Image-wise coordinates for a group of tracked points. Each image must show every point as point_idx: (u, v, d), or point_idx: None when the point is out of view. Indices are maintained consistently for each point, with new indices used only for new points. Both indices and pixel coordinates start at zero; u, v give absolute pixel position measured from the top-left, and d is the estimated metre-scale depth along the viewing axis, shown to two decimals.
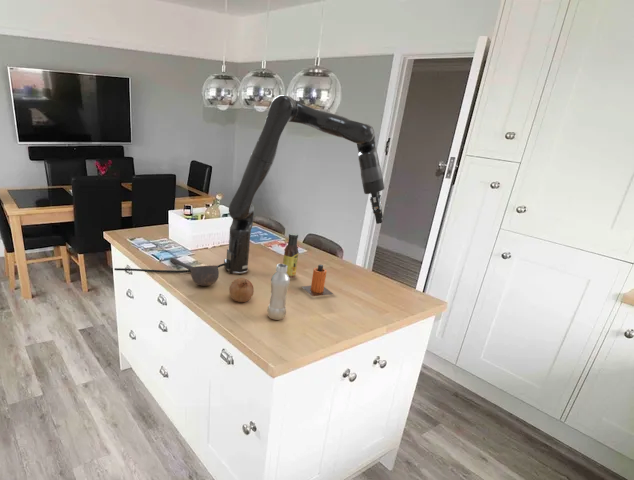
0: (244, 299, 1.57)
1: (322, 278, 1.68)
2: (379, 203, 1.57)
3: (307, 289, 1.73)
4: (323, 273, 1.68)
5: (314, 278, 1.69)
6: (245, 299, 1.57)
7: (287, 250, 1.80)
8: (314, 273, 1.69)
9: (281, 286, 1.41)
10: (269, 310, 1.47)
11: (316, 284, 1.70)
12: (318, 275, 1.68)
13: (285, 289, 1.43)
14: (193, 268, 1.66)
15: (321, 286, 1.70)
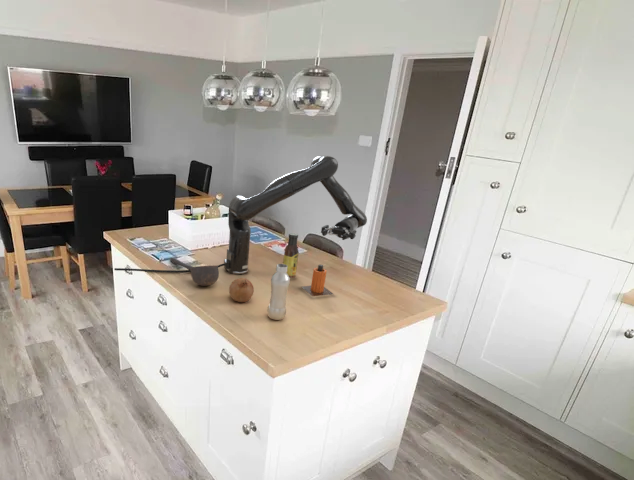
0: (244, 299, 1.57)
1: (322, 278, 1.68)
2: None
3: (307, 289, 1.73)
4: (323, 273, 1.68)
5: (314, 278, 1.69)
6: (245, 299, 1.57)
7: (287, 250, 1.80)
8: (314, 273, 1.69)
9: (281, 286, 1.41)
10: (269, 310, 1.47)
11: (316, 284, 1.70)
12: (318, 275, 1.68)
13: (285, 289, 1.43)
14: (193, 268, 1.66)
15: (321, 286, 1.70)
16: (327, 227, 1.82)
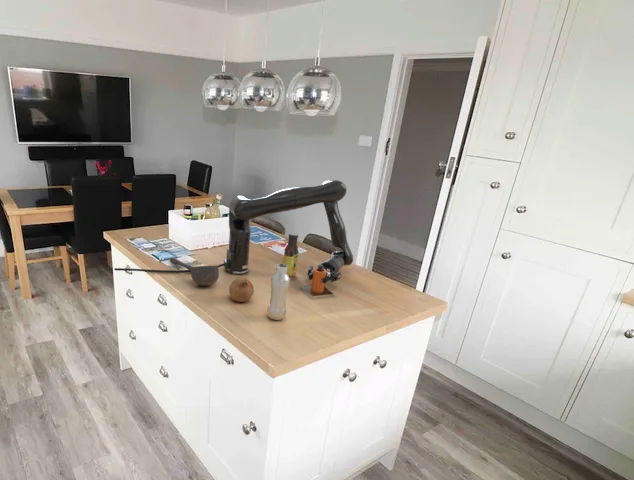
0: (244, 299, 1.57)
1: (322, 278, 1.68)
2: None
3: (307, 289, 1.73)
4: (323, 273, 1.68)
5: (314, 278, 1.69)
6: (245, 299, 1.57)
7: (287, 250, 1.80)
8: (314, 273, 1.69)
9: (281, 286, 1.41)
10: (269, 310, 1.47)
11: (316, 284, 1.70)
12: (318, 275, 1.68)
13: (285, 289, 1.43)
14: (193, 268, 1.66)
15: (321, 286, 1.70)
16: (312, 268, 1.78)
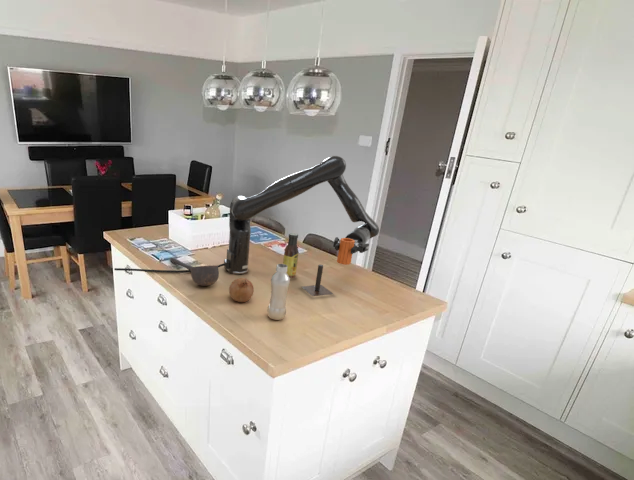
0: (244, 299, 1.57)
1: (350, 248, 1.57)
2: None
3: (307, 289, 1.73)
4: (351, 243, 1.56)
5: (341, 249, 1.57)
6: (245, 299, 1.57)
7: (287, 250, 1.80)
8: (341, 243, 1.57)
9: (281, 286, 1.41)
10: (269, 310, 1.47)
11: (343, 255, 1.58)
12: (346, 245, 1.56)
13: (285, 289, 1.43)
14: (193, 268, 1.66)
15: (349, 257, 1.58)
16: (337, 240, 1.66)
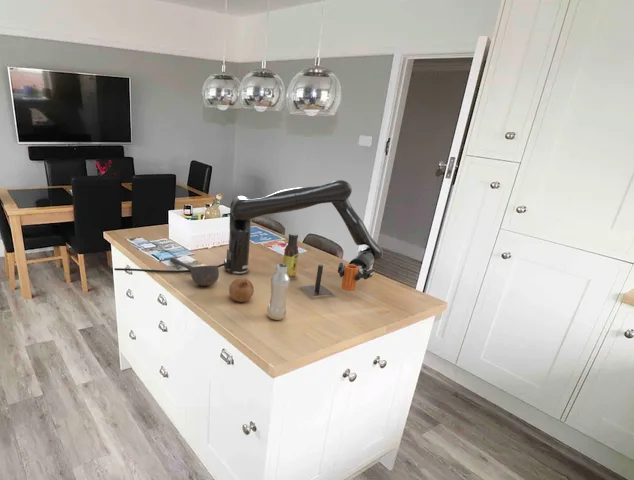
0: (244, 299, 1.57)
1: (354, 275, 1.58)
2: None
3: (307, 289, 1.73)
4: (356, 270, 1.57)
5: (346, 275, 1.59)
6: (245, 299, 1.57)
7: (287, 250, 1.80)
8: (346, 270, 1.59)
9: (281, 286, 1.41)
10: (269, 310, 1.47)
11: (348, 282, 1.60)
12: (350, 272, 1.58)
13: (285, 289, 1.43)
14: (193, 268, 1.66)
15: (353, 284, 1.60)
16: (342, 265, 1.68)
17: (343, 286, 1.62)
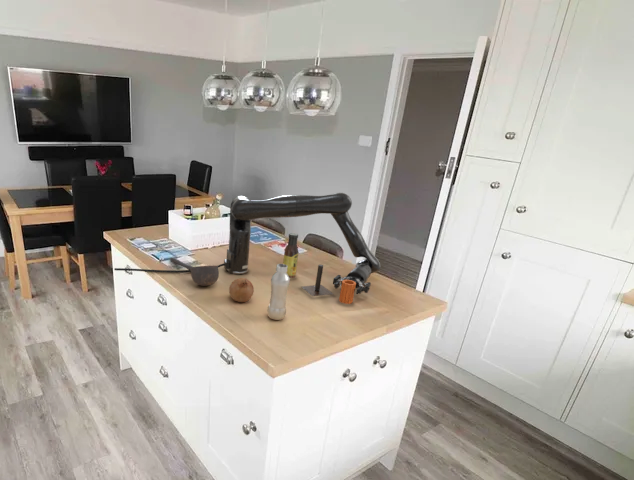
0: (244, 299, 1.57)
1: (351, 291, 1.61)
2: None
3: (307, 289, 1.73)
4: (353, 286, 1.60)
5: (343, 291, 1.62)
6: (245, 299, 1.57)
7: (287, 250, 1.80)
8: (343, 285, 1.61)
9: (281, 286, 1.41)
10: (269, 310, 1.47)
11: (345, 297, 1.62)
12: (347, 288, 1.60)
13: (285, 289, 1.43)
14: (193, 268, 1.66)
15: (350, 299, 1.63)
16: (339, 277, 1.71)
17: (340, 301, 1.64)
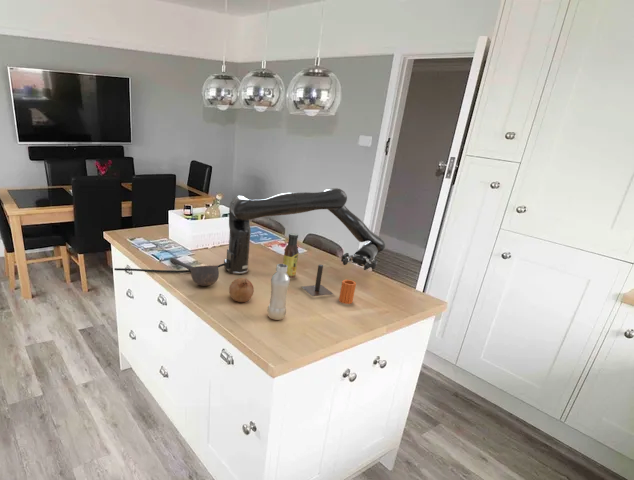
0: (244, 299, 1.57)
1: (351, 291, 1.61)
2: None
3: (307, 289, 1.73)
4: (353, 286, 1.60)
5: (343, 291, 1.62)
6: (245, 299, 1.57)
7: (287, 250, 1.80)
8: (343, 285, 1.61)
9: (281, 286, 1.41)
10: (269, 310, 1.47)
11: (345, 297, 1.62)
12: (347, 288, 1.60)
13: (285, 289, 1.43)
14: (193, 268, 1.66)
15: (350, 299, 1.63)
16: (347, 255, 1.80)
17: (340, 301, 1.64)
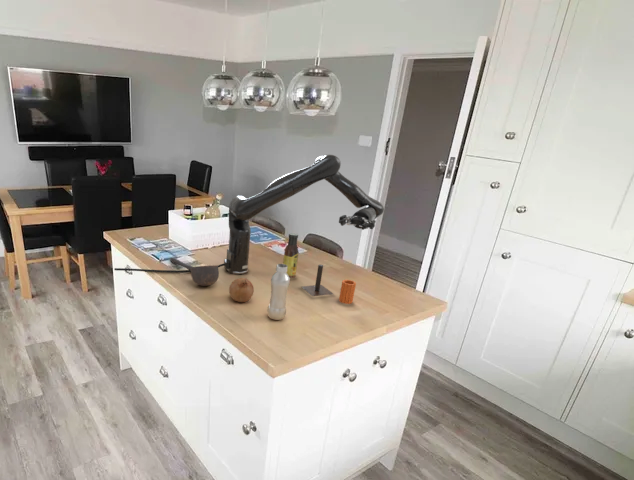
0: (244, 299, 1.57)
1: (351, 291, 1.61)
2: None
3: (307, 289, 1.73)
4: (353, 286, 1.60)
5: (343, 291, 1.62)
6: (245, 299, 1.57)
7: (287, 250, 1.80)
8: (343, 285, 1.61)
9: (281, 286, 1.41)
10: (269, 310, 1.47)
11: (345, 297, 1.62)
12: (347, 288, 1.60)
13: (285, 289, 1.43)
14: (193, 268, 1.66)
15: (350, 299, 1.63)
16: (345, 217, 1.76)
17: (340, 301, 1.64)
